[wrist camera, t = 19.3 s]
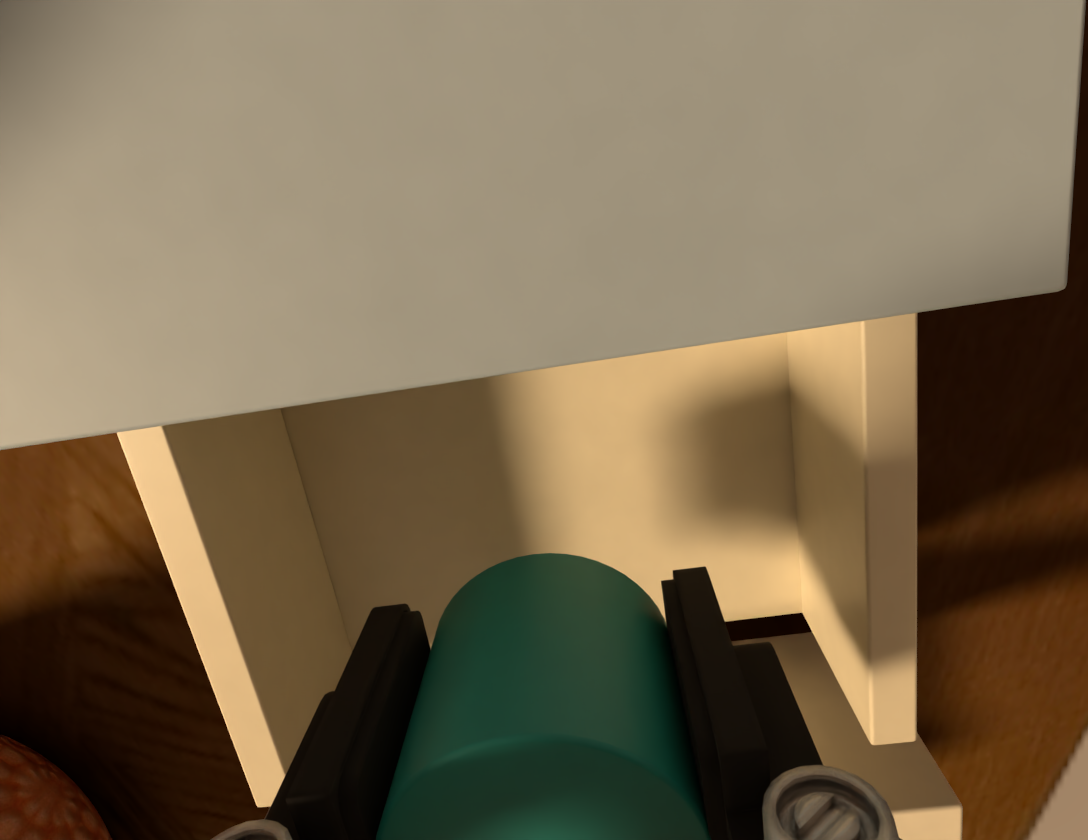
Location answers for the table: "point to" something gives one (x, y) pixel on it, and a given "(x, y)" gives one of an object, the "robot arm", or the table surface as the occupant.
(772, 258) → the grey cabinet
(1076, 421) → the table surface
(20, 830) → the planter
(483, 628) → the cylinder
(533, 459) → the drawer
